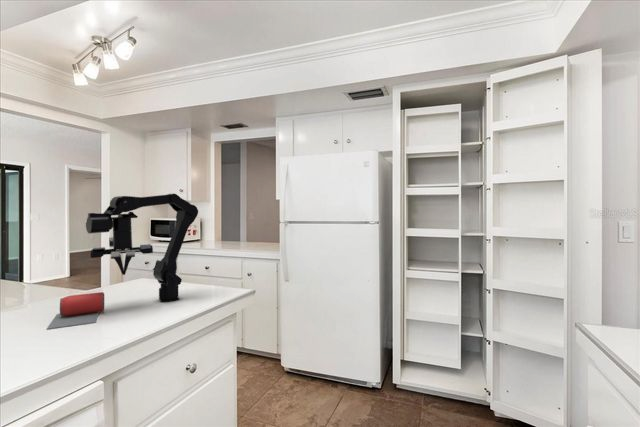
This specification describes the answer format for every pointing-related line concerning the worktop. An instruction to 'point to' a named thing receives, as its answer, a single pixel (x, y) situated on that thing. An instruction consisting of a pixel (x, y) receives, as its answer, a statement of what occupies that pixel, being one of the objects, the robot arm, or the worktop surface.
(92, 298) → the beer can
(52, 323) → the mat
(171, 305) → the worktop surface
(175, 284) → the robot arm
